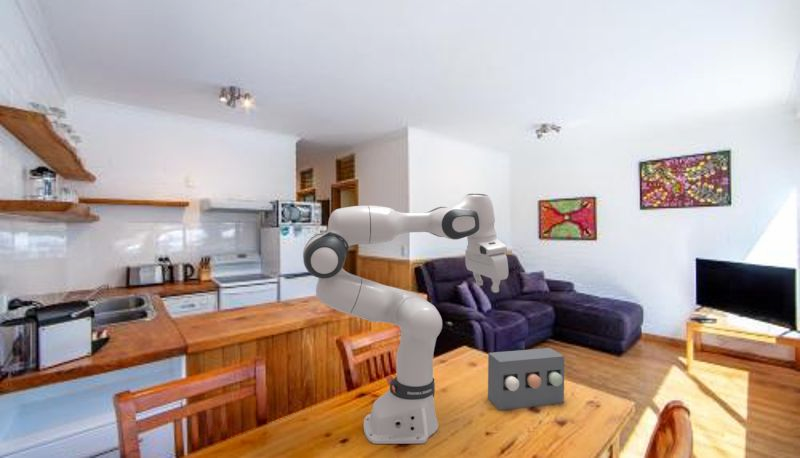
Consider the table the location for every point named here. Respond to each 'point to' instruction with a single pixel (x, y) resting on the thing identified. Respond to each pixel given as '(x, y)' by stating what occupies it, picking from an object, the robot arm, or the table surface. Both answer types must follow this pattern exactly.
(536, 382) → the terracotta button
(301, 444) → the table surface
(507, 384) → the cream button
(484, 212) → the robot arm
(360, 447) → the table surface
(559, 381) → the sage button
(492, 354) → the control box
